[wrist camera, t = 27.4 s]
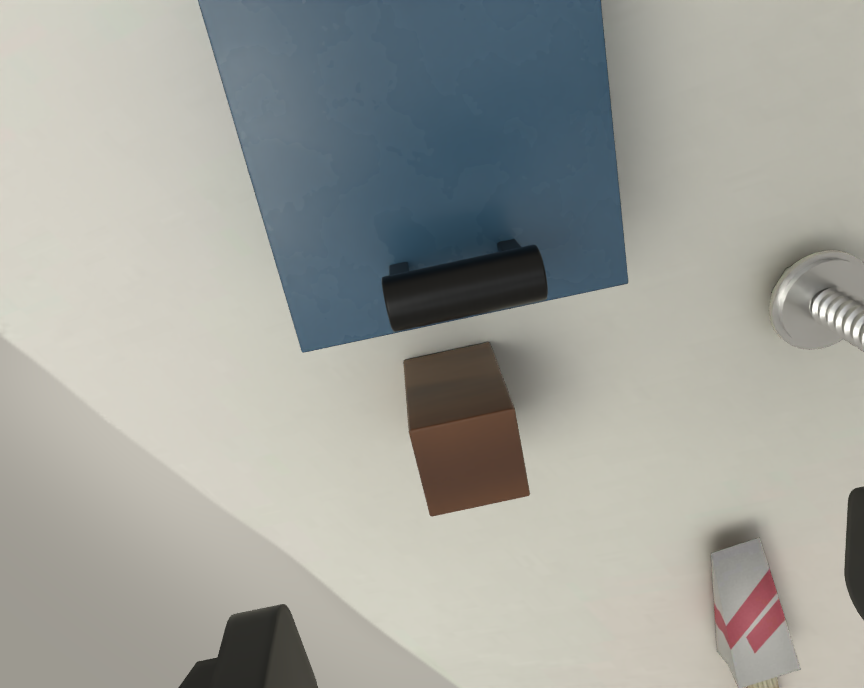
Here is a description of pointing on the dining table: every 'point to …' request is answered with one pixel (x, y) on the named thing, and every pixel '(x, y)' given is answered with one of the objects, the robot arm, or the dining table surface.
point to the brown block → (463, 430)
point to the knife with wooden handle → (750, 617)
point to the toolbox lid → (424, 155)
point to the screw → (820, 301)
